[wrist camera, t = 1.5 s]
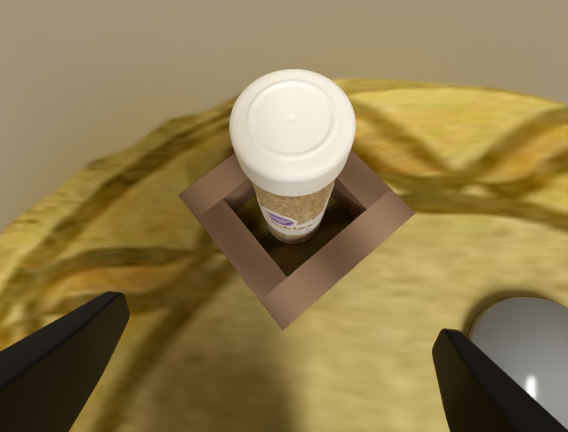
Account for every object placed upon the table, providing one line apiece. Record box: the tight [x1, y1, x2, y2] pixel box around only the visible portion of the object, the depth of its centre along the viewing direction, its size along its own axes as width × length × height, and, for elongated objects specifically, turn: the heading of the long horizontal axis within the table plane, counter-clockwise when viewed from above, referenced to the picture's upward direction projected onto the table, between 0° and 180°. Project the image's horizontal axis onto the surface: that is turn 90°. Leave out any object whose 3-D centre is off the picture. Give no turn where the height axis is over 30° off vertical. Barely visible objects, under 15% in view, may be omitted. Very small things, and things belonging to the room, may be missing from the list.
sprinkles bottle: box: [229, 69, 356, 244], centre depth 16 cm, size 5×5×14 cm
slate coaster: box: [467, 297, 568, 430], centre depth 19 cm, size 9×9×1 cm
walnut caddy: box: [179, 150, 415, 330], centre depth 21 cm, size 12×12×4 cm
